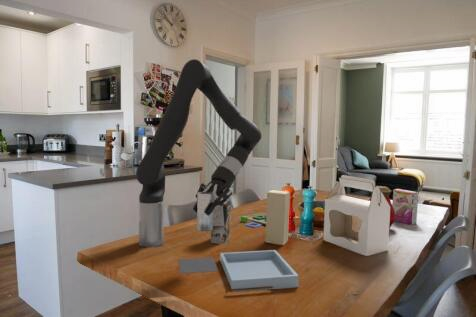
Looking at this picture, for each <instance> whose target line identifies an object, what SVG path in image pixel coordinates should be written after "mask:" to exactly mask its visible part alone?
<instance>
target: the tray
mask: <svg viewBox="0 0 476 317" xmlns="http://www.w3.org/2000/svg"><path fill="white" fill-rule="evenodd" d="M219 261H220V264H221V266H222V268H223V271H224V274H225V276H226V278H227V281H228V284H229V285H230V288H231V293H243V291H244V292H253V291H254V290H257V291H268V289H269V290H277V289H278V290H280V289H292V288H299V277H300V276H299V275H298V273H297V272H296V271H295V270H294V269H293V268H292V267H291V265H290V264H289V263H288V262H287V261H286V260H285V259H284V258H283V257H282V256H281V254H280V253H279V252H278V251H277V249H267V250H252V251H251V250H249V251H233V252H220V253H219ZM254 288H255V289H254ZM241 289H242V290H241ZM254 292H255V291H254Z"/></svg>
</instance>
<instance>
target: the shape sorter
mask: <svg viewBox="0 0 476 317" xmlns="http://www.w3.org/2000/svg"><path fill="white" fill-rule="evenodd" d="M294 218H295V219H294V220H299V219H298V218H300V217H299V216H298V215H295V217H294ZM248 221H251V222H250V223H248ZM240 222H241V223H246V224H245V227H249V228H253V229H256V228H259V227H262V226H263V225H264V226H266V212H261V213H259V212H258V213H255V214H248V215H244V216H240Z"/></svg>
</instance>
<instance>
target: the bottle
mask: <svg viewBox="0 0 476 317" xmlns="http://www.w3.org/2000/svg"><path fill="white" fill-rule="evenodd" d="M376 187H377V188H379V189H381V192H382V194H383V195H384V197H385V199H386V200H387V202H388V204H389V206H390V223H389V230H390V229H391V227H392V226H393V224H394V223H395V222H396V221H395V220H396V218H397V217H396V214H395V211H394V209H393V206H392V201H391V198H390V195H391V193H392V190H391V189H390V188H389V187H387V186H385V185H384V186H382V185H376ZM369 192H370V197H369V199H368V200H369V201H371V196H372V191H369Z"/></svg>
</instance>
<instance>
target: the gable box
mask: <svg viewBox="0 0 476 317" xmlns="http://www.w3.org/2000/svg"><path fill="white" fill-rule="evenodd" d="M338 180H339V181H335V185H334V187H333V188H332V189H331V191H330V192H329V193H328V195H327V197H326V198H325V199H324V217H323V218H324V220H323V241H325V242H327V243H331V244H332V245H336V246H339V248H340V247H341V248H343V249H346V250H349V251H352V252H354V253H356V254H359V255H362V256H365V257H368V256H372V255H376V254H380V253H383V252H388V250H389V236H390V229H389V223H390V206H389V204H388V202H387V200H386V199H385V197H384V195H383V194H382V192H381V189H379V188H377V187H376V186H377V184H376V180H375V179H372V178H367V177H359V176H353V175H346V174H342V175H341V176H340V177H338ZM345 187H347V188H353V189H358V190H361V191H362V190H363V191H368V192H370V191H372V196H371V195H370V197H371V201H369V199H363V198H360V197H354V196H350V195H346V190H345ZM352 216H354V217H357V218H359V219H360V220H361V225H360V228H359V230H358V231H355V230H353V227H352V226H353V217H352Z"/></svg>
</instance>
